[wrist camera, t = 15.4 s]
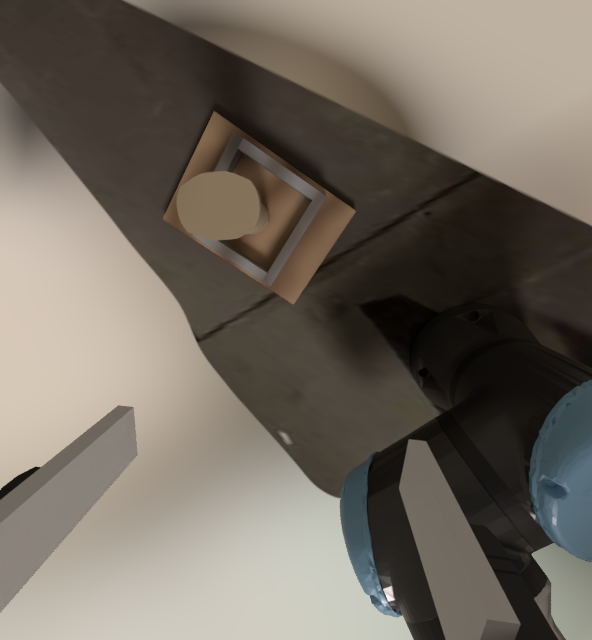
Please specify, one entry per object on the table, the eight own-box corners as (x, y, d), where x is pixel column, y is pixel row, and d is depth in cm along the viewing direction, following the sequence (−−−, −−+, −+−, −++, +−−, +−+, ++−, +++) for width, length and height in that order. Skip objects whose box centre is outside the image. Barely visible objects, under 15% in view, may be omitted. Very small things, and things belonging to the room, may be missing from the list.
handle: (229, 200, 36) (171, 176, 22) (281, 195, 36) (255, 167, 21) (234, 240, 38) (182, 242, 23) (284, 236, 37) (262, 236, 23)
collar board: (355, 211, 37) (358, 209, 34) (294, 302, 40) (292, 308, 37) (217, 115, 35) (207, 103, 32) (167, 219, 39) (154, 218, 36)
